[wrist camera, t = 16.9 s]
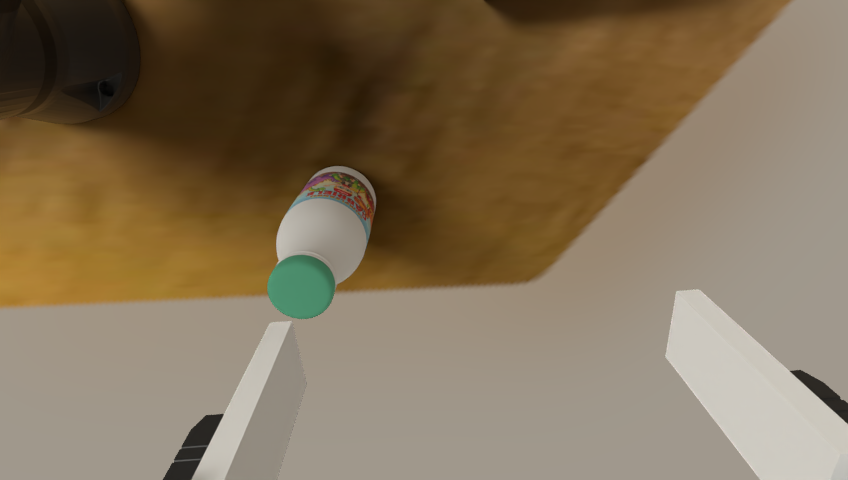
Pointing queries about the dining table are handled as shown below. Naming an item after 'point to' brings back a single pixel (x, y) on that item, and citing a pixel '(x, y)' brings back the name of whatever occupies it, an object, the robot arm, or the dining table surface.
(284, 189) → the dining table surface
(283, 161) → the dining table surface
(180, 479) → the robot arm
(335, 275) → the milk bottle
